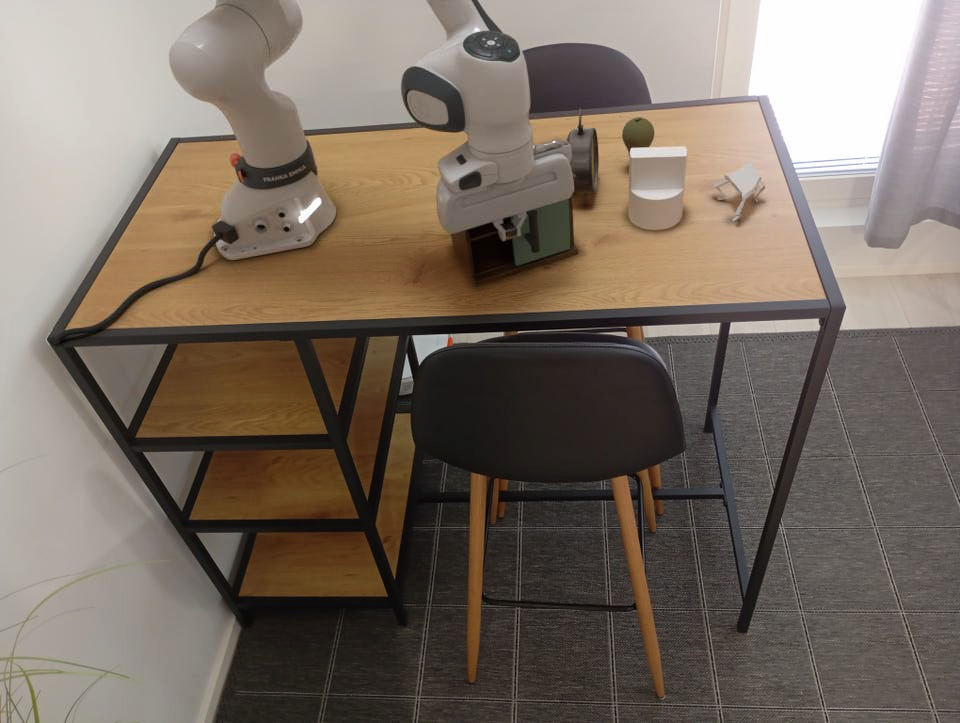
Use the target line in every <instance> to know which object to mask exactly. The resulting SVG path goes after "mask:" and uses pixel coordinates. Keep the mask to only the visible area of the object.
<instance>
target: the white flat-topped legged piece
mask: <svg viewBox="0 0 960 723" xmlns="http://www.w3.org/2000/svg"><path fill="white" fill-rule="evenodd" d="M723 177H724V178H722V179H720V180H718V181H717V182H714V183H713V184H712V186H713V187H714V188H715V189H716V190H717V191H718V192H719V193H720V194H721V195H722V196H721V197H716V200H717V201H722V200H723V201H724V200H728V199H729V198H728V197H727V196H726V194H725V193H724V192H723V190H721V188H720V187H722V186H724V185H727V184H729V183H730V184H731V186H732V187H733V188H734V190H736V192H737V193H738V194H739V195H740V197H741V198H742V200H741V202H740V203H739V206H738V207H737V209H736V211H735V217H734V218H732V222H736V221H738V219H740V218H741V217H742V214H741V211H742V210H743V206H745V205H744V204H745V202H746V200H747V199H748V198H749V197H750V196H751V195H752V194H753V193H755V192H756V190H757V187H758V186H759V184H761V185H762V187H761V188H760V189H759V191H758V192H757V193H756V195H755V196H754V200H755V202H756V203H759V201H758V199H757V198H758V197H759V196H760V195H761V194H762V192H763V191H764V190H765V189H766V188H767V186H766V184H765V183H764V182H763V181H762V176H761V175H760V174H759V172H758V171H757V169H756V168H755V167H754V165H753V163H752V161H750V162H748V163H747V164H745V165H743V166H742V167H740V168H738V169H736V170H735V171H732V172H730V173H729V174H728V173H727V174H726V173H724V174H723Z"/></svg>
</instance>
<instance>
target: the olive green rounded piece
mask: <svg viewBox="0 0 960 723" xmlns="http://www.w3.org/2000/svg"><path fill="white" fill-rule="evenodd" d="M654 128H655V127H654V126H653V124H652V123H651V121H650V120H648V119H647V118H645V117H642V116H637V117H633V118H631V119H630V120H628V121H627V122H626V123H625V125H624V126H623V128H622V134H621V138H622V142H623V144H624V146H625V147H626V150H627V152H628V156H629V157H630V150H631V148H645V147H651V145H652V143H653V141H654V138H655V129H654Z"/></svg>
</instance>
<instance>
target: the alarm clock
mask: <svg viewBox="0 0 960 723" xmlns="http://www.w3.org/2000/svg"><path fill="white" fill-rule="evenodd" d="M582 110H583V109H582V108H581V107H580V108H579V110H578V125H577V128H573V129H571V130H570V131H569V133H568V134H567V137H566V141H567V142H569V143H570V145H571V148H572V159H571V162H570V166H571V170H572V172H573V173H574V174H575V175H576V181H574V192H573V194H575V195H576V194H582V195H583V207H585V208H586V207H588V198H589V196H588V195H589V194H595V193H596V192H597V190H598V183H599V163H600V162H599V161H600V160H599V158H600V157H599V141H598V133H597V129H596V128H595V127H587V128H586V127H585V128H584V125H583V124H582V120H583V119H582V118H583V116H582Z"/></svg>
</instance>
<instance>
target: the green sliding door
mask: <svg viewBox="0 0 960 723" xmlns="http://www.w3.org/2000/svg"><path fill="white" fill-rule="evenodd" d="M526 214H527V217H526V218H525V220H524V222H523V224H522V226H521V227H520V231H521V236H518V237H515V238H512V243H513V252H514V262H515V265H516V266H518V265H521V264H524V263H528V262H531V261H534V260H537V259H540V258H543V257H546V256H549V255H552V254H556V253H559V252H562V251H565V250H568V249H570V235H569V209H568V199H566V200H562V201H559V202H556V203H553V204H549V205H546V206H543V207H539V208H536V209H533V210H530V211H526ZM513 218H514V215H513V216H510V223H511V222H512V220H513Z"/></svg>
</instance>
